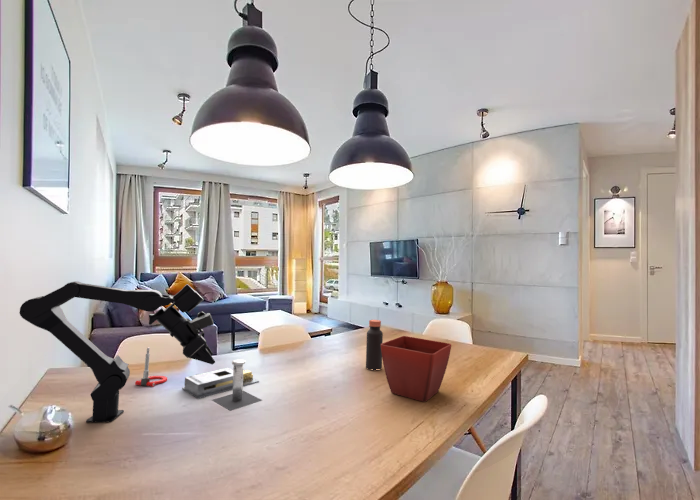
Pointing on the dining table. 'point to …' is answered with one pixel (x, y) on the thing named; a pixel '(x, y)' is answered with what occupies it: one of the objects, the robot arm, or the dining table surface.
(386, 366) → the plant pot
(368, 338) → the bottle
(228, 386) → the windowed slide housing
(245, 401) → the rubber mat
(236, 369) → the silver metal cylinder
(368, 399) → the dining table surface
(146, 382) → the tow hook
